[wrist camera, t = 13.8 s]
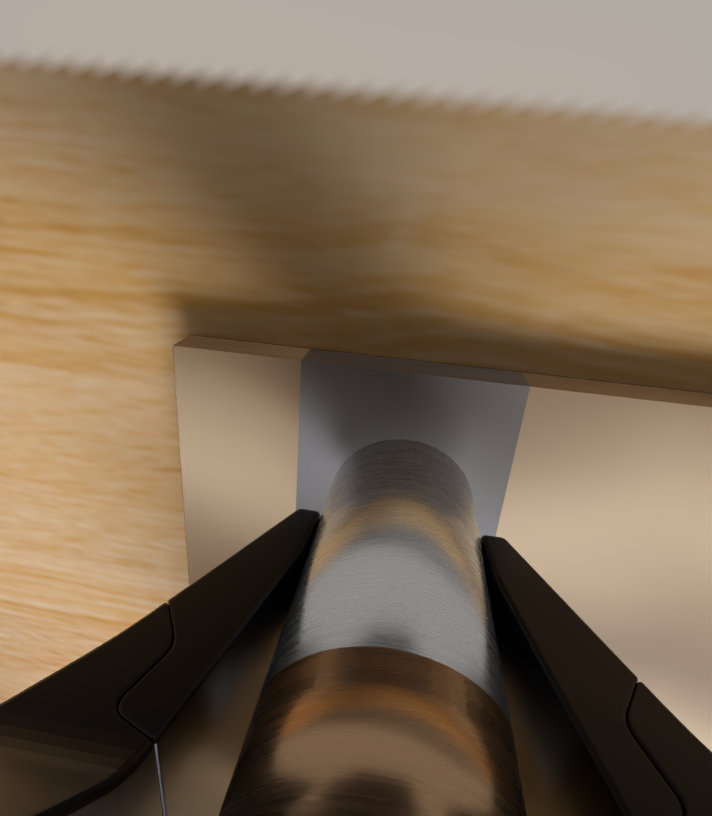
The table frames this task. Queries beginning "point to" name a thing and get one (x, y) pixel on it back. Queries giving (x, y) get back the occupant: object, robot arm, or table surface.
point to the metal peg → (385, 659)
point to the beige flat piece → (478, 479)
